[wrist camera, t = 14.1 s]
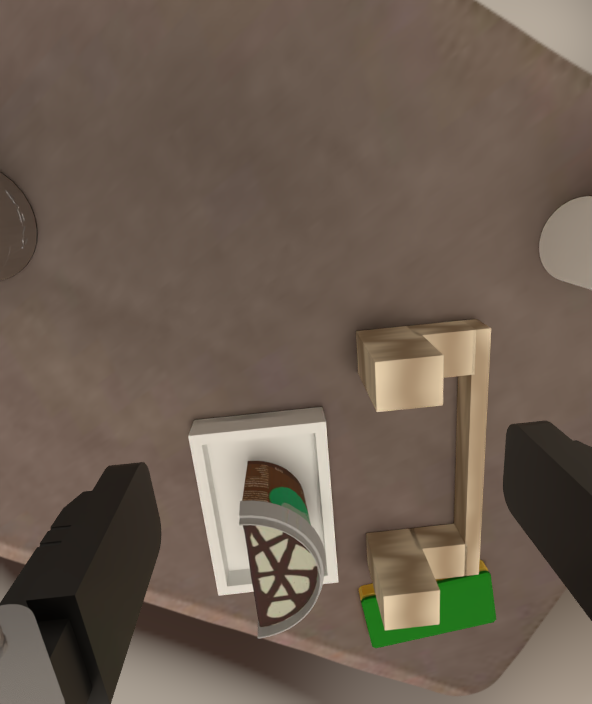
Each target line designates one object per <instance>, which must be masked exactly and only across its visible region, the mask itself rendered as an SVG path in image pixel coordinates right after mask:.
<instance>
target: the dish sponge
mask: <svg viewBox="0 0 592 704" xmlns="http://www.w3.org/2000/svg"><path fill="white" fill-rule="evenodd" d="M435 580H436V582H437V584H438V587H439V589H440V622H439V624H438V625H429V626H420V627H411V628H402V629H393V630H385V629H384V626H383V622H382V618H381V614H380V610H379V606H378V602H377V598H376V594H375V591H374V587H373V583H372V584H368V585H363V586H361V587H360V588H359V594H360V598H361V603H362V607H363V611H364V615H365V619H366V623H367V627H368V631H369V635H370V639H371V643H372V647H374V648H379V647H384V646H388V645H393V644H397V643H402V642H406V641H411V640H415V639H420V638H424V637H429V636H434V635H438V634H443V633H447V632H452V631H456V630H461V629H465V628H470V627H474V626H479V625H483V624H488V623H492V622H494V621H495V620H496V614H495V606H494V598H493V590H492V582H491V574H490V573H489V572H488V569H487V567H486V566H485V564H484V562H483V561H482V560H480V561H479V574H478V575H469V576H460V577H451V578H442V579H435Z"/></svg>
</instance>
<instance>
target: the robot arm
mask: <svg viewBox="0 0 592 704" xmlns="http://www.w3.org/2000/svg"><path fill="white" fill-rule="evenodd" d="M36 239H37V228H36V222H35V217H34V214H33V212H32V209H31V206H30V204H29V203H28V201H27V199H26V198H25V196H24V194H23V193H22V192H21V191H20V189H19V188H18V187H17V186H16V185H15V184H14V183H13V182H12V181H11V180H10V179H9V178H7V177H6V176H5V175H4V174H2V173H1V172H0V281H1V280H4V279H7V278H10V277H12V276H14V275H15V274H17V273H18V272H20V271H21V270H22V269H23V268H24V267H25V266H26V265H27V264H28V262H29V260H30V259H31V257H32V255H33V253H34V249H35V246H36ZM503 492H504V497H505V500H506V503H507V506H508V508H509V510H510V512H511V514H512V515H513V516H514V518H515V519H516V520H517V522H518V523H519V524H520V526H521V527H522V528H523V530H524V531H525V533H526V534H527V535H528V537H529V538H530V539H531V541H532V542H533V543H534V545H535V546H536V547H537V549H538V550H539V551H540V553H541V554H542V555H543V557H544V558H545V559H546V561H547V562H548V563H549V565H550V566H551V567H552V569H553V570H554V571H555V573H556V574H557V575H558V577H559V578H560V579H561V581H562V582H563V583H564V585H565V586H566V587H567V589H568V590H569V591H570V593H571V594H572V595H573V597H574V598H575V599H576V600H577V602H578V603H579V605H580V606H581V607H582V608H583V610H584V611H585V613H586V614H587V615H588V617H589V618H590V619H591V621H592V447H590V446H588V445H585V444H583V443H581V442H579V441H577V440H576V441H572V440H571V439H570V438H569V437H568V436H566V435H565V434H564V433H563V432H561V431H560V430H559V429H558V428H557V427H555V426H554V425H553V424H552V423H550V422H548V421H537V422H528V423H518V424H511V425H510V426H509V427H508V429H507V433H506V445H505V460H504V475H503ZM160 544H161V523H160V517H159V513H158V508H157V504H156V500H155V495H154V491H153V487H152V482H151V478H150V473H149V470H148V467H147V465H146V464H145V463H144V462H140V463H131V464H121V465H112V466H108V467H107V468H106V469H105V471H104V472H103V474H102V476H101V477H100V479H99V481H98V482H97V484H96V485H95V487H94V489H93V490H92V491H86V492H83V493H81V494H80V495H79V496H78V497H76V498H75V499H74V500H73V501H72V502H70V503H69V504H68V505H67V506H66V507H64V508H63V509H62V511H61V512H60V514H59V515H58V517H57V518H56V520H55V521H54V523H53V524H52V526H51V530H50V531H48V532H47V533H46V535H45V536H44V538H43V539H42V541H41V542H40V547H37V548H36V550H35V551H34V553H33V554H32V556H31V557H30V559H29V560H28V562H27V563H26V565H25V567H24V568H23V570H22V571H21V572H20V574H19V576H18V577H17V578H16V580H15V581H14V583H13V585H12V586H11V588H10V589H9V591H8V592H7V594H6V595H5V597H4V598H3V600H2V601H1V603H0V704H111V701H112V698H113V695H114V692H115V689H116V685H117V682H118V679H119V676H120V673H121V670H122V667H123V663H124V660H125V657H126V654H127V651H128V648H129V644H130V641H131V638H132V635H133V632H134V629H135V626H136V622H137V619H138V616H139V613H140V610H141V607H142V604H143V600H144V597H145V594H146V591H147V588H148V585H149V582H150V578H151V575H152V572H153V569H154V566H155V563H156V559H157V556H158V553H159V550H160Z"/></svg>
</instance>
